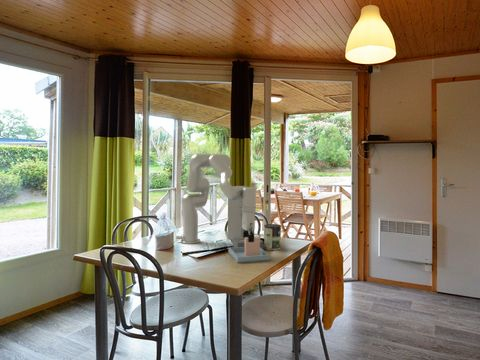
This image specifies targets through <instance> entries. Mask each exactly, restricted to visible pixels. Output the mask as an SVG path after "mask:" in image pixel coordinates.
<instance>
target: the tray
mask: <svg viewBox="0 0 480 360" xmlns="http://www.w3.org/2000/svg"><path fill="white" fill-rule="evenodd" d="M244 251H245V247H228V254H229V255H230V256H231V257H232V259H233V260H234V261H235V262H236V263H237V264H241V263H243V264H244V263H255V262H258V263H259V262H269V261H271V254H269V253H268V252H266V251H265V250H264V249H263V250H262V249H261V248H260V255H256V256H245V255H244Z"/></svg>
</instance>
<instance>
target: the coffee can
mask: <svg viewBox="0 0 480 360" xmlns="http://www.w3.org/2000/svg"><path fill="white" fill-rule="evenodd" d="M263 230H264V231H263V232H264V234H263V235H264V236H263V237H264V239H263V240H264V241H263V249H265V250H269V251H277V250H281V249H282V248H281V247H282V245H281V244H282V242H281V239H282V236H281V235H282V232H281V231H282V225H280V224H277V223H266V224H264V229H263Z"/></svg>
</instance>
